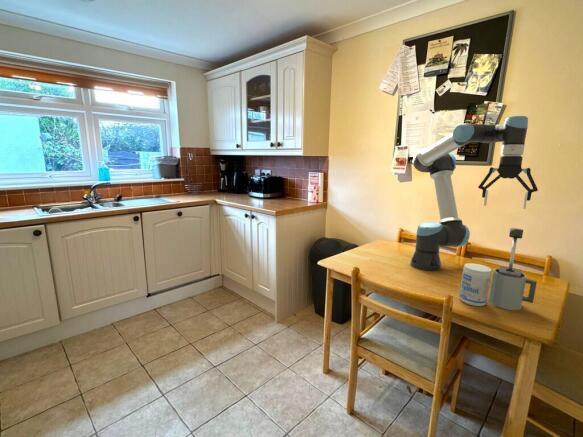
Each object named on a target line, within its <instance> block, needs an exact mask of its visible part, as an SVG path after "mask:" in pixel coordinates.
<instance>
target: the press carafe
mask: <svg viewBox="0 0 583 437" xmlns="http://www.w3.org/2000/svg"><path fill="white" fill-rule="evenodd" d="M508 268H509V266H504V265H499V267H495V268H493V270H492V271H493V272H492V276H491V283H490V284H491V285H490V289H489V296H488V302H489V303H490V304H491V305H493V306H494V307H497V308H500V309H504V310H508V311H518V310H521V309H522V304H523V302H526V303H530V304H533V303H534V298H535V295H536V294H535V293H536V289H537V283H538V281H537V280H536V279H535V280H534V279H530V278H527V274H526V273H523V272H522V269H519V268H516V267H515V268H514V267H513V268H512V272H510V271H508ZM505 275H507V276H505ZM509 276H512V277H509ZM526 284H527V285H528V284H529V290H528V295H527V296H524V293H525V289H526V288H525V287H526Z"/></svg>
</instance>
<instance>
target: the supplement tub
mask: <svg viewBox="0 0 583 437" xmlns="http://www.w3.org/2000/svg"><path fill="white" fill-rule="evenodd" d="M492 271H493V270H492V269H491V267H489V266H487V265H484V264H479V263H471V262H470V263H464V266H463V268H462V274H461V281H460V287H459V288H460V289H459V294H458V295H459V296H458V297H459V299H460V301H461V302H463V303H465V304H467V305H470V306H475V307H484V306H485V305H486V304H487V303H488V302H487V301H488V297H489V292H490V286H491V285H490V284H491V280H492Z"/></svg>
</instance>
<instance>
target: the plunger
mask: <svg viewBox="0 0 583 437" xmlns="http://www.w3.org/2000/svg"><path fill="white" fill-rule="evenodd" d="M508 234H509V236H508V237H509V238H513V239H512V245H511V251H510V258H509V264H508V267H509V268H508V271H510V272H512V268H514V260H515V255H516V249H517V243H518V242H517V241H518V239H523V234H524V229H521V228H514V227H512V228H509V233H508ZM505 276H507V275H505ZM509 277H512V276H509Z"/></svg>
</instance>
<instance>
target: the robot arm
mask: <svg viewBox="0 0 583 437" xmlns="http://www.w3.org/2000/svg"><path fill="white" fill-rule="evenodd" d="M528 125H529V118H528V117H527V116H525V115H514V116H508V117H506V118H505V121H504V123H499V124H498V123H497V124H490V123H489V124H485V123H483V124H482V123H481V124H480V123H479V124H477V123H467V122H466V123H459V124H456V125H455V126H454V128H453V130H452V132H451V133H450V134H449V135H447V136H445V137H444V138H442V139H440V140H439V141H437V142H435V143H433V144H432V145H431V146H429V147H427V148H422V149H421V150H418V151H417V152H416V153H415V154H414V156H413V159H412V164H413V167H414V169H416V170H417V171H418V172H420V173H429V175H430V176H429V177H430V178H431V179H433V181H434V188H435V195H436V201H437V207H438V212H439V219H440V220H439V222H436V221H435V222H431V221H430V222H429V221H427V222H422V223H420V224H419V225H417V228H416V240H415V249H414V252H413V255H412V257H411V260H410V266H412V267H413V268H416V269H419V270H421V271H433V272H436V271H440V270H441V269H442V261H441V256H440V249H441V248H451V247H452V248H459V247H464V246H465V245H467V243H468V241H469V239H470V236H471V233H470V232H471V231H470V229H469V227H468V226H467V225H466V224H464V223H463V220H462V219H461V218H459V216H458V209H457V204H456V203H457V202H456V197H455V193H454V187H453V180H452V175H453V174H454V171H455V170H456V167H457V164H458V163H457V159H456V155H454V154H453V153H452V152H454V151H456V150H457V149H460V148H461V147H463V146H465V145H468V144H469V143H484V144H493V143H500V142H501V150H500V155H501V156H500V157H499V163H498V166H497V167H490V168H489V171H488V173H487V174H486V175H485V176H484V178H483V180H482V181H481V182H480V184H479V185H478V189H480V190H482V193H481V194H482V195H481V197H482V198H483V199H484V202H483V206H487V204H488V197H489V195H488V194H489V190H487V189H488V188H490V187H491V186H493V185H494V184H495V183H496V182H497V181H498V180H500V179H501V178H502V179H512V180H513V179H516V180H517V181H518V182H519V183H520V184H521V185H522V187H523V188H524V189H525V190H526V192H525V193H524V199H523V206H522V209H523V210H525V209H526V208H527V202H528V201H531V198H532V193H535V192H538V191H539V188H538V186H537V185H536V183H535V180H534V178H533V176H532V174H531V172H532V171H531V167H527V168H522V164H523V155H524V152H525V146H526V145H525V143H526V138H527V131H528V128H529V126H528ZM495 172H497V173H498V175H497V176H496V177H495V178H493V179H492V180H491V181H490V182H489V183H488V184H486V182H487V181H488V180H489V178H490V177H491V176H492V174H494V173H495ZM522 172H523V173H524V174H526V176H527V178H528V181H529V183H530V185H531V187H532V188H530V186H529V185H528V184H527V183H526V182H525V181H524V180H523V178H522V177H521V176H520V174H521V173H522ZM484 185H485V186H484Z"/></svg>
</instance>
